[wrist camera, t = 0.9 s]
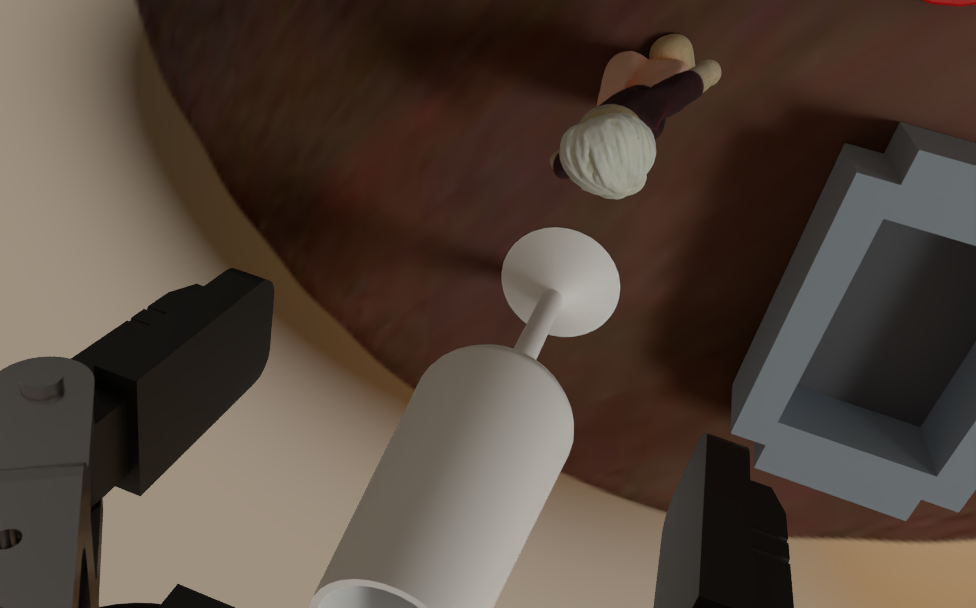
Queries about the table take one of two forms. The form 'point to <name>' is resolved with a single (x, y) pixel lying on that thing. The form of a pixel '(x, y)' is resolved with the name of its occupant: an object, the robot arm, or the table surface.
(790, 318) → the well block
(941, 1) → the tow hook
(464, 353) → the champagne flute
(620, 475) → the table surface
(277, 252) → the table surface
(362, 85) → the table surface
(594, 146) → the grandmother figurine
